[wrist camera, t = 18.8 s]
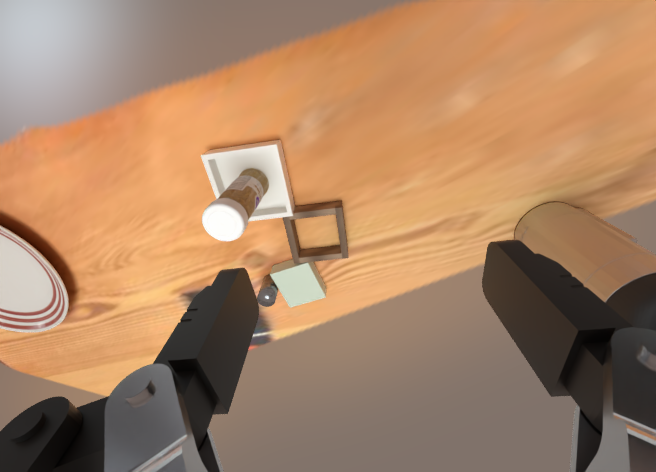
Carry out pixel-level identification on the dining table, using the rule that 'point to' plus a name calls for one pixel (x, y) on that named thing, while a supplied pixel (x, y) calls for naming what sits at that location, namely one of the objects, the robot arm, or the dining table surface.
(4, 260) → the dinner plate
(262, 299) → the cylinder
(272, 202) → the tray
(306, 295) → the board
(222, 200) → the sprinkles bottle
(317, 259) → the socket block
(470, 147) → the dining table surface
